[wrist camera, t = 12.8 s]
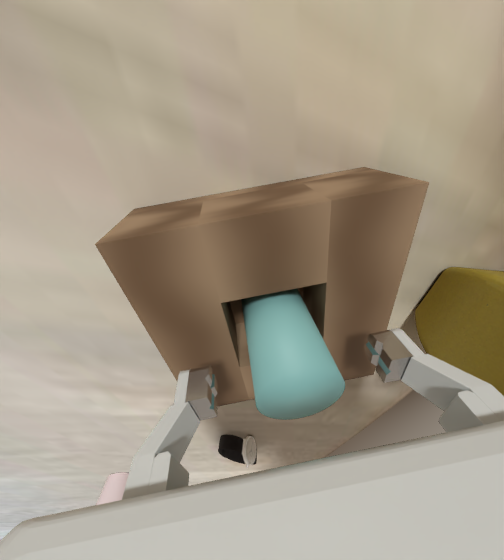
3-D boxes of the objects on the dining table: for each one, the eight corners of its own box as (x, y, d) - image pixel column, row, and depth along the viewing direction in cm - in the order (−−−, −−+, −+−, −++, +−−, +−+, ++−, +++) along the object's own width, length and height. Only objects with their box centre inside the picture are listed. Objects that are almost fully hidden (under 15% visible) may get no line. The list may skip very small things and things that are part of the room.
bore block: (364, 167, 13) (429, 182, 9) (343, 327, 21) (373, 374, 17) (134, 209, 13) (94, 244, 9) (199, 356, 21) (195, 410, 17)
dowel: (292, 261, 15) (349, 359, 9) (294, 304, 18) (340, 409, 11) (235, 272, 15) (249, 380, 9) (244, 314, 17) (261, 426, 11)
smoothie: (87, 476, 32) (14, 666, 21) (128, 465, 32) (78, 652, 21) (113, 487, 36) (64, 655, 24) (151, 477, 36) (118, 643, 24)
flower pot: (524, 253, 19) (721, 330, 12) (457, 326, 24) (567, 415, 16) (440, 242, 17) (609, 325, 10) (386, 324, 22) (473, 422, 14)
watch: (263, 442, 34) (267, 472, 31) (236, 452, 35) (238, 482, 32) (239, 424, 30) (241, 456, 27) (209, 435, 31) (208, 468, 28)
